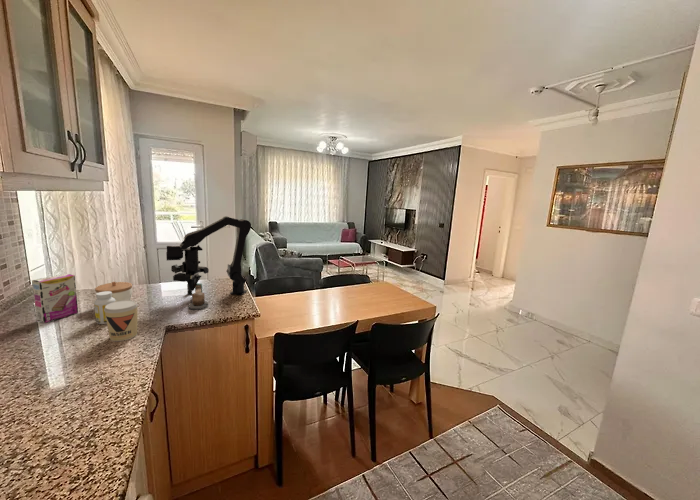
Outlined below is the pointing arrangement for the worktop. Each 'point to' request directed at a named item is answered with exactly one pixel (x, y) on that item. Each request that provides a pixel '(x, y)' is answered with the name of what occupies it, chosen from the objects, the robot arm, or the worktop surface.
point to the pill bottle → (102, 305)
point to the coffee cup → (121, 319)
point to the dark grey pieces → (193, 307)
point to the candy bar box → (55, 297)
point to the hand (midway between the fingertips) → (192, 290)
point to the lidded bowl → (117, 290)
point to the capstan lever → (198, 295)
